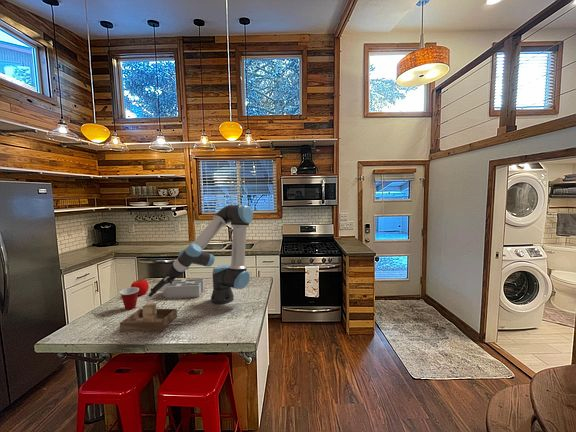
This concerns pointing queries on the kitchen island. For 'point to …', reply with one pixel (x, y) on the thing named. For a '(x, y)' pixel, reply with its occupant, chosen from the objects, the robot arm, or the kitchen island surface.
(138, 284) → the tomato
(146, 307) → the oak peg
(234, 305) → the kitchen island surface
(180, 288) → the grey compartment tray
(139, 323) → the walnut crate
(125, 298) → the plastic cup
